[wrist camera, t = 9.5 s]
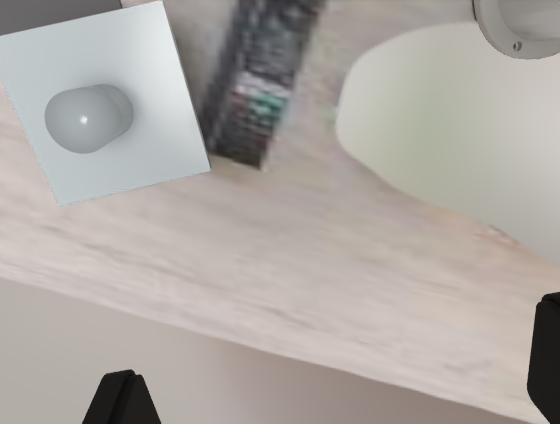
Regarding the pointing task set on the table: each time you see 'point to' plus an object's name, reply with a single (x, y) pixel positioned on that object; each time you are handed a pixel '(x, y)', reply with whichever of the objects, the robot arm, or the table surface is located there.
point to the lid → (104, 102)
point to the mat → (48, 12)
